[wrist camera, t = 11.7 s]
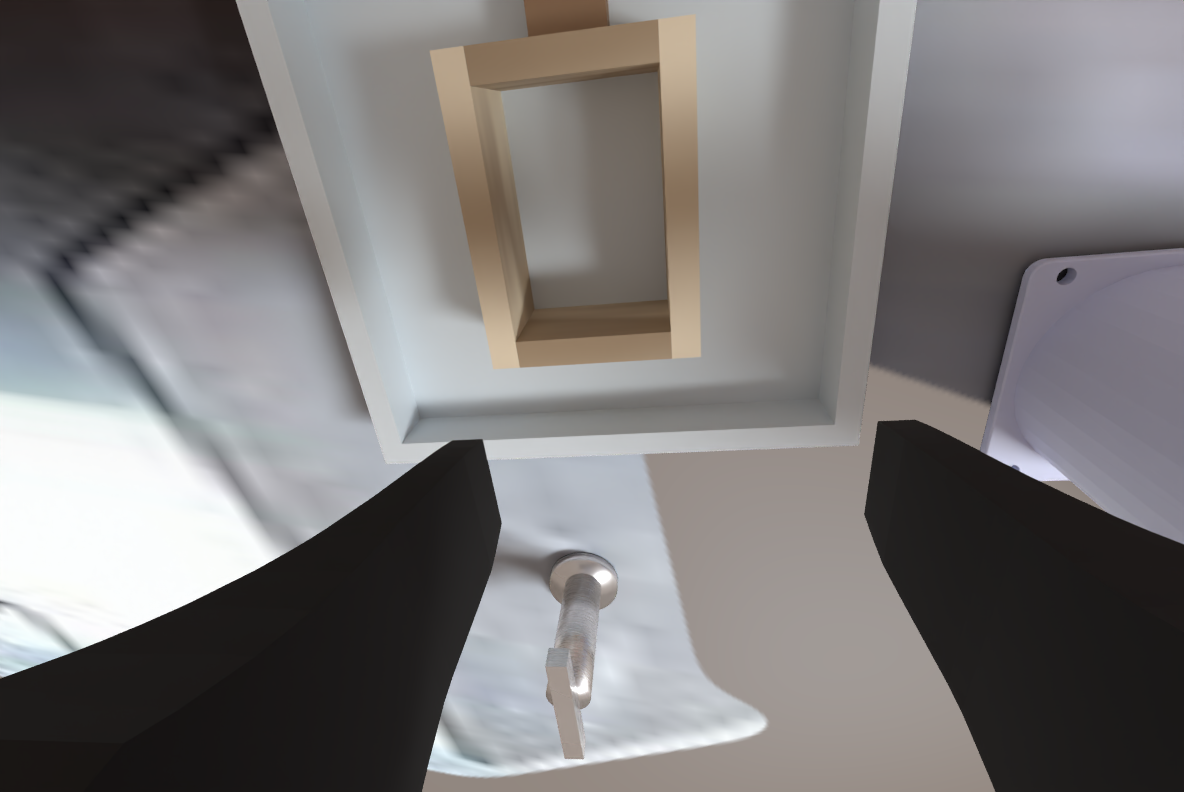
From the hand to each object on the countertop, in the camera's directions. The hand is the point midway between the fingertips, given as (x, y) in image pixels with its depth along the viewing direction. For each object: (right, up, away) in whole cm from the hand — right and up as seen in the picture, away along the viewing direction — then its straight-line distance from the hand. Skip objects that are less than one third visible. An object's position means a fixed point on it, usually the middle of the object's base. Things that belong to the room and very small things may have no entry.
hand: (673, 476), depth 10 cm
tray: (-2, +8, +7) cm, 10 cm away
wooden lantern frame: (-2, +7, +6) cm, 10 cm away
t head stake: (-2, -7, +14) cm, 16 cm away
